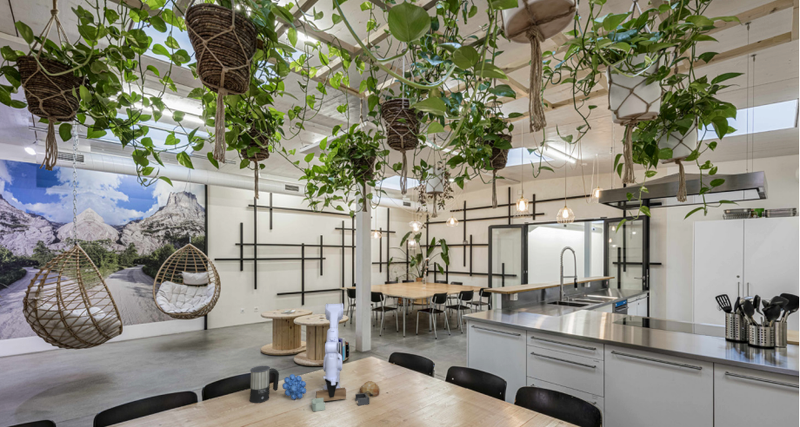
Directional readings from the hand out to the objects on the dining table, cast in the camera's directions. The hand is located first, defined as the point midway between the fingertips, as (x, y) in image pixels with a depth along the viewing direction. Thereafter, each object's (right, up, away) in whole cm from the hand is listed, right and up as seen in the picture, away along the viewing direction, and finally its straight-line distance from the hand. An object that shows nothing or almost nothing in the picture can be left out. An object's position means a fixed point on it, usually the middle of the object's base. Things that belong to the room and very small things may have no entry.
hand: (330, 395), depth 181 cm
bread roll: (+18, -4, +9) cm, 20 cm away
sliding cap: (-4, -2, -8) cm, 9 cm away
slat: (0, -2, 0) cm, 2 cm away
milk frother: (-37, -3, +5) cm, 37 cm away
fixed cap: (+15, -3, -2) cm, 15 cm away
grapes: (-18, -3, +1) cm, 19 cm away
